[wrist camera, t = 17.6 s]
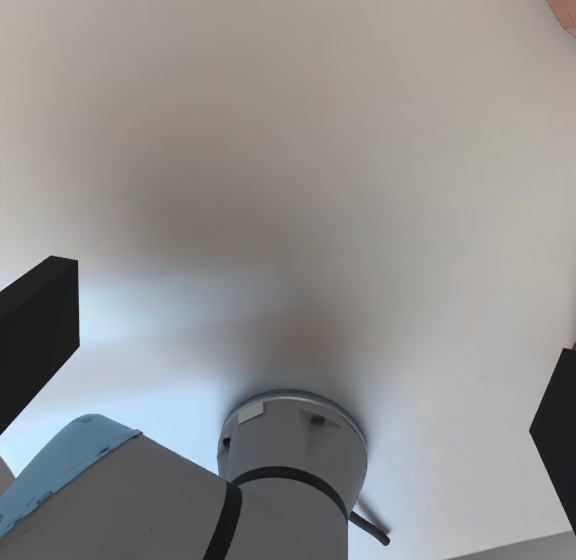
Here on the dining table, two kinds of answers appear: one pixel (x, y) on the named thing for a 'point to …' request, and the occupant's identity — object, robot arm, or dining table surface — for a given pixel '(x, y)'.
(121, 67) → the dining table surface
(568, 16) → the bowl
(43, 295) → the robot arm
